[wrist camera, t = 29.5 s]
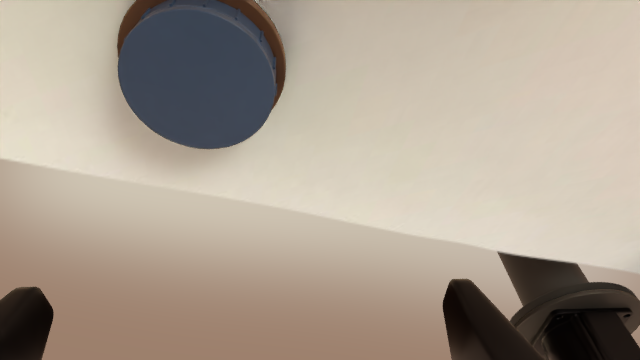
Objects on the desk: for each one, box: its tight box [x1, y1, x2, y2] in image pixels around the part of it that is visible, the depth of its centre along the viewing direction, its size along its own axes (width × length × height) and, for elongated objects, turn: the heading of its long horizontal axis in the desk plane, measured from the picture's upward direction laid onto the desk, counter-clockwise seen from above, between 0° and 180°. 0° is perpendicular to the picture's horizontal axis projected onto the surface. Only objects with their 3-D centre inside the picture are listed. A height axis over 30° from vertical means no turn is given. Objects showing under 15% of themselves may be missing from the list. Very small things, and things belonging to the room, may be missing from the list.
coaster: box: [117, 0, 286, 109], centre depth 19 cm, size 7×7×1 cm
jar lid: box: [118, 0, 277, 149], centre depth 18 cm, size 6×6×2 cm
